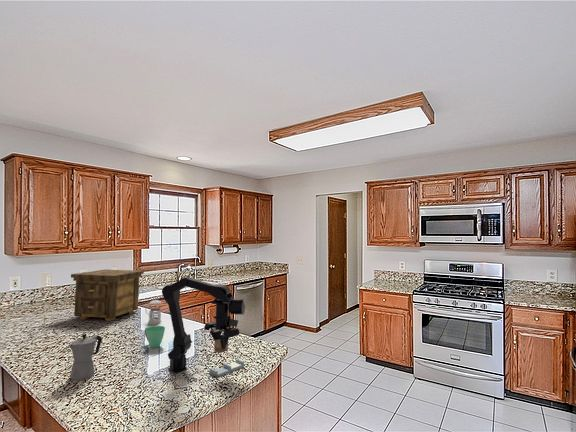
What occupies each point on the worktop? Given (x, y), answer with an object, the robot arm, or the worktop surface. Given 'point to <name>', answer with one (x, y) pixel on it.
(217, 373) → the bracket
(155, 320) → the french press
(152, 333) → the green cup
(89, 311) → the wooden drawer cabinet
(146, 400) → the worktop surface
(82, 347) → the coffeepot
